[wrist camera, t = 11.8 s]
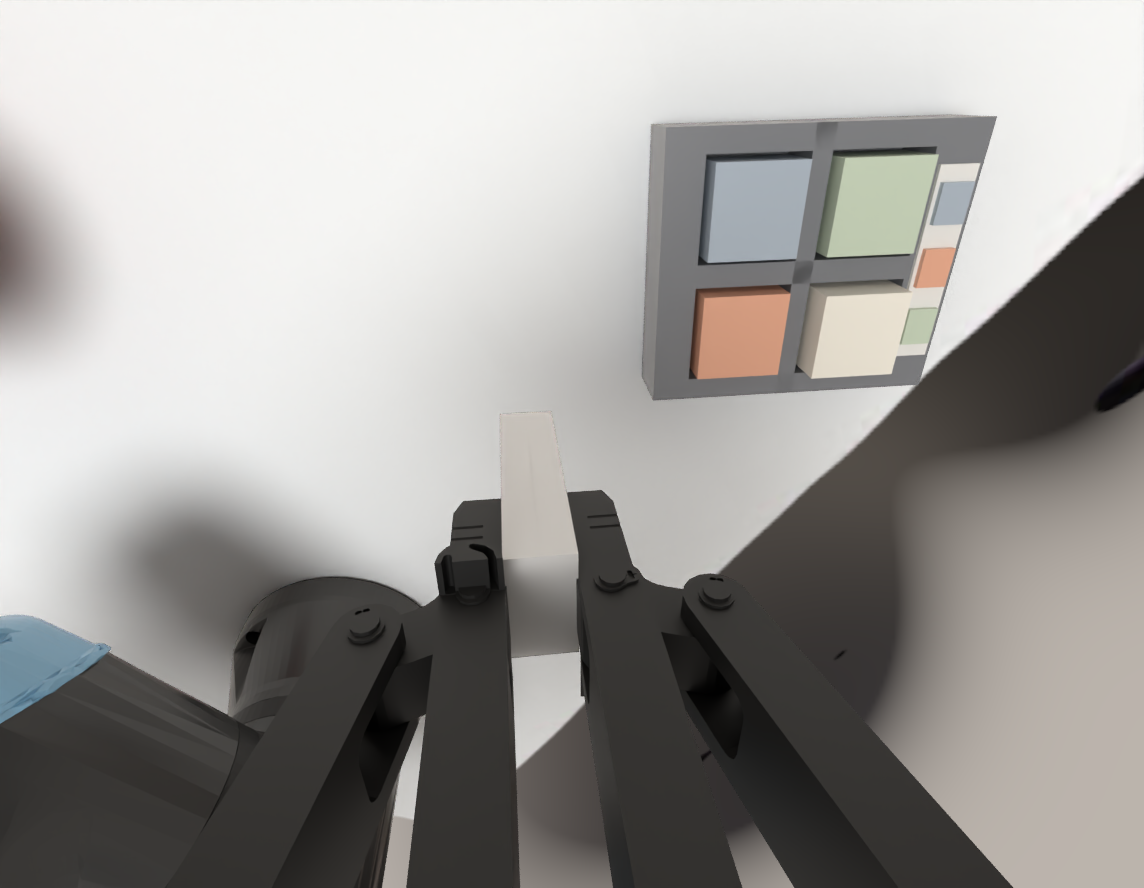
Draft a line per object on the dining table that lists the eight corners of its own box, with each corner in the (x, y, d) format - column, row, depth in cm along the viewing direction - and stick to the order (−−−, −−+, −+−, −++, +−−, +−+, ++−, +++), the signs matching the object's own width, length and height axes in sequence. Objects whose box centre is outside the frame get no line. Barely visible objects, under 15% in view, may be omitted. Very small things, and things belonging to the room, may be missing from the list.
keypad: (886, 362, 38) (923, 387, 35) (641, 376, 38) (654, 404, 34) (950, 114, 31) (1004, 116, 28) (651, 124, 30) (668, 127, 27)
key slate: (774, 246, 33) (796, 258, 30) (692, 250, 33) (707, 263, 30) (787, 154, 31) (812, 159, 28) (699, 157, 30) (716, 162, 28)
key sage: (882, 241, 33) (913, 253, 31) (802, 245, 33) (826, 257, 30) (903, 149, 31) (938, 154, 28) (817, 152, 31) (845, 157, 28)
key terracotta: (758, 355, 36) (777, 374, 34) (684, 359, 36) (697, 379, 33) (769, 279, 34) (790, 293, 31) (690, 282, 34) (704, 298, 31)
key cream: (864, 354, 36) (891, 374, 33) (789, 358, 36) (811, 378, 33) (882, 277, 34) (913, 292, 31) (802, 281, 33) (826, 296, 31)
